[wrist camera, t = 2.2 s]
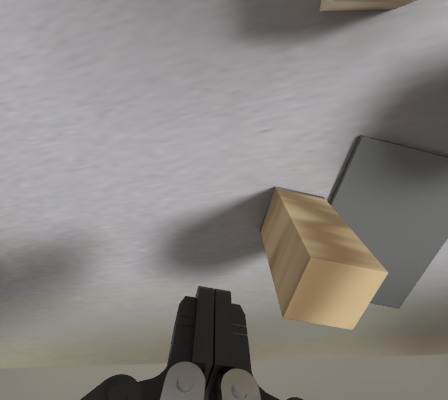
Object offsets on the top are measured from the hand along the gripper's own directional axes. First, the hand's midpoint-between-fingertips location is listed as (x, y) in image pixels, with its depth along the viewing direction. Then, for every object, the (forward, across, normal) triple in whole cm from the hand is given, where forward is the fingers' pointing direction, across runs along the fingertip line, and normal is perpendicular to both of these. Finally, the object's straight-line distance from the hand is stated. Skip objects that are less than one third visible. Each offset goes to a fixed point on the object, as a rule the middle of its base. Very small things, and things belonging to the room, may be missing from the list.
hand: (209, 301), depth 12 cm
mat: (+12, -16, 0) cm, 20 cm away
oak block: (+12, -7, 0) cm, 14 cm away
